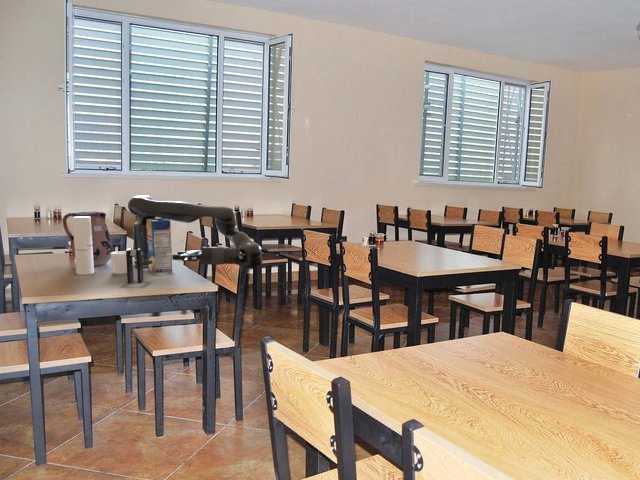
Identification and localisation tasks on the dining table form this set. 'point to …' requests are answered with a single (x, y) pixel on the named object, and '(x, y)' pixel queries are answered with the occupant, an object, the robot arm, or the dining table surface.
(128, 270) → the bracket
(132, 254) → the lever
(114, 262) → the white cup
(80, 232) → the cylindrical container
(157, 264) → the juice carton
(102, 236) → the ceramic pitcher
